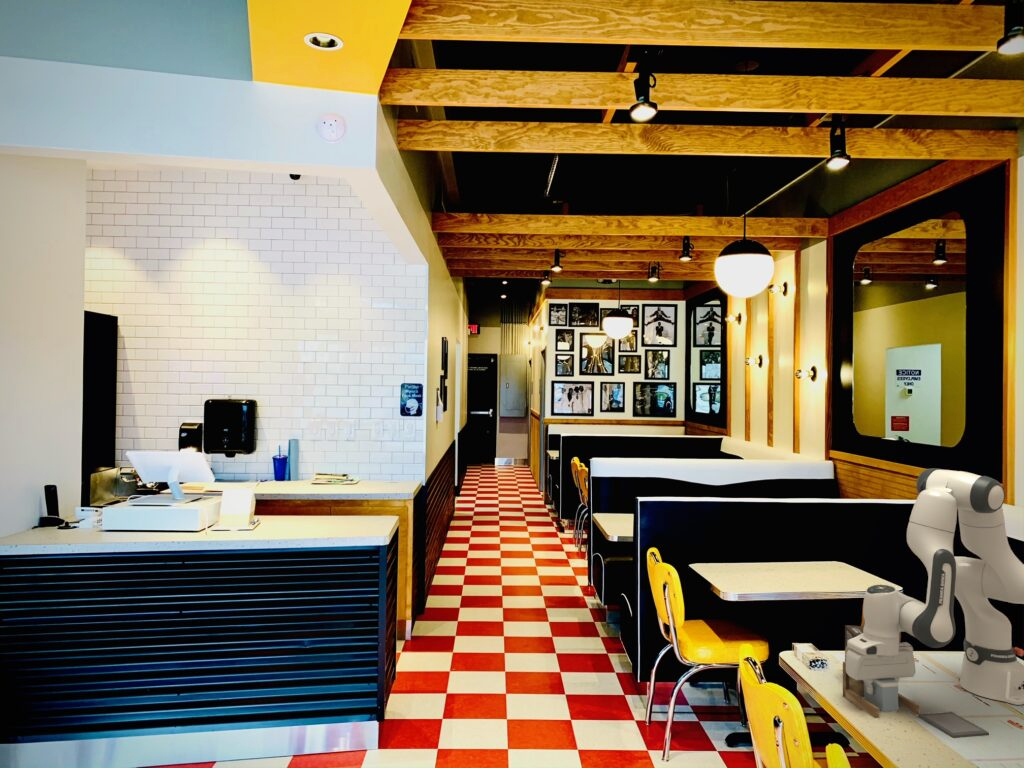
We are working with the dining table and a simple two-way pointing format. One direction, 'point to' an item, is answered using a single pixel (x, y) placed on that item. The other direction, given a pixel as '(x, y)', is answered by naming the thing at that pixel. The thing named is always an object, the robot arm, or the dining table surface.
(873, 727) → the dining table surface
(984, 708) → the dining table surface
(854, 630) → the coffee box
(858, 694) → the wooden stand
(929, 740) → the dining table surface
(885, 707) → the block
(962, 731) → the mat
